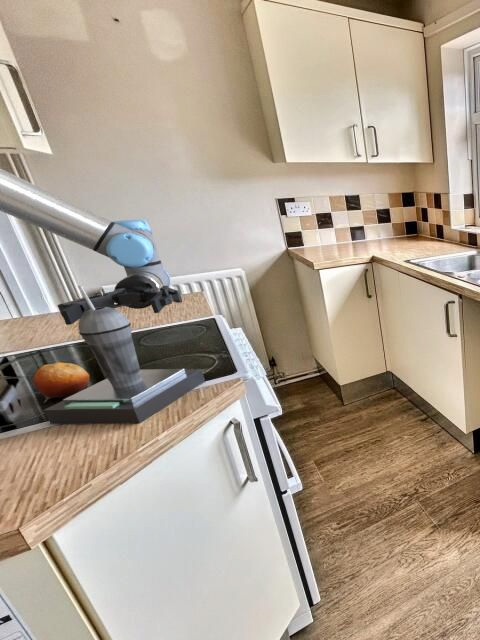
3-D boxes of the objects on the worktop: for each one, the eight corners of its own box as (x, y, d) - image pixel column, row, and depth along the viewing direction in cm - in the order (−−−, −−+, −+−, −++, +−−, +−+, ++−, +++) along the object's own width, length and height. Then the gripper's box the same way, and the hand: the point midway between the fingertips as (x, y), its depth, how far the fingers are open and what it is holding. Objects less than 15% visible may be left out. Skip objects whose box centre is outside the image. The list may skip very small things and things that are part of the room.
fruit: (29, 390, 87) (43, 354, 87) (81, 396, 93) (95, 363, 93) (21, 404, 82) (36, 366, 82) (78, 410, 87) (92, 374, 87)
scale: (50, 424, 77) (41, 407, 76) (130, 382, 93) (124, 367, 92) (139, 423, 77) (132, 406, 75) (205, 381, 92) (200, 366, 91)
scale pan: (64, 404, 78) (62, 399, 78) (126, 374, 90) (124, 369, 90) (132, 403, 77) (130, 398, 77) (185, 373, 90) (184, 368, 89)
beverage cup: (158, 378, 85) (123, 281, 78) (115, 394, 79) (71, 290, 72) (139, 372, 88) (102, 278, 81) (95, 387, 82) (51, 287, 75)
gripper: (205, 297, 108) (193, 319, 91) (77, 313, 97) (34, 341, 80) (197, 268, 105) (182, 285, 88) (63, 281, 95) (16, 303, 77)
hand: (111, 312), depth 84 cm, fingers open, 13 cm apart
